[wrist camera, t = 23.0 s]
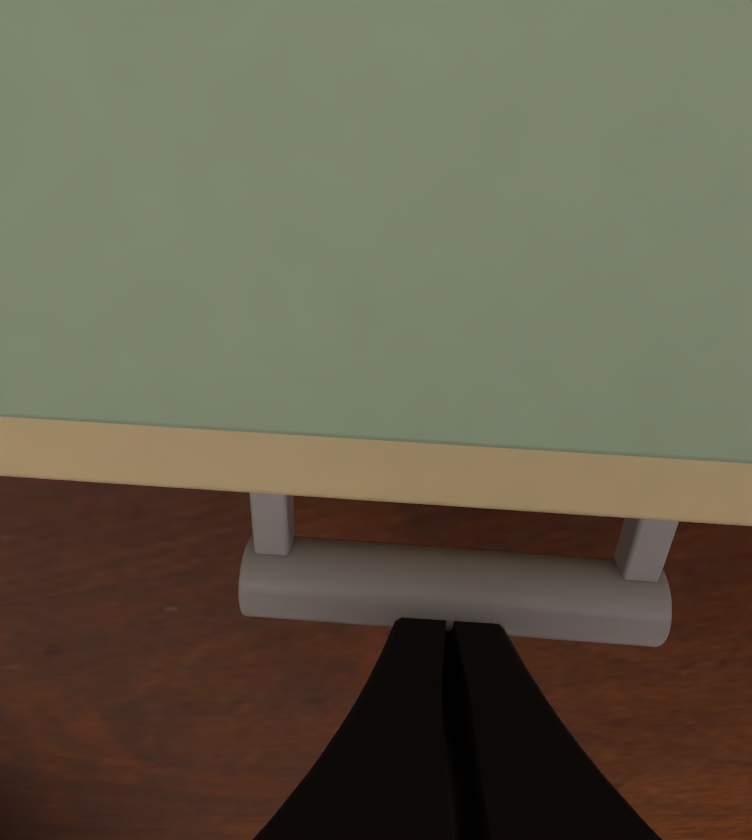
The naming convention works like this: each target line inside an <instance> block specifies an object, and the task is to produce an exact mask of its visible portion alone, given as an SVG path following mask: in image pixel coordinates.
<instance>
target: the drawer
mask: <svg viewBox="0 0 752 840" xmlns="http://www.w3.org/2000/svg"><path fill="white" fill-rule="evenodd" d="M0 476H11V477H26V478H41V479H56V480H71V481H86V482H101V483H116V484H131V485H146V486H160V487H175V488H190V489H205V490H220V491H235V492H249V493H250V505H251V518H252V530H253V535H251V536H250V538H249V540H248V542H247V544H246V547H245V550H244V553H243V557H242V562H241V568H240V575H239V589H238V595H239V606H240V610H241V613H242V614H243V615H245V616H254V617H267V618H280V619H293V620H306V621H319V622H333V623H346V624H359V625H372V626H385V627H393V625H394V622H395V621H396V620H398V619H400V618H401V617H404V618H419V619H434V620H446V630H445V631H451V630H452V628H453V623H454V621H463V622H478V623H494V624H500V625H501V626H502V627H503V628H504V629H505V631H506V633H507V635H508V636H517V637H530V638H544V639H557V640H570V641H583V642H596V643H609V644H623V645H636V646H649V647H658V646H660V645H662V644H663V643H664V642H665V641H666V639H667V637H668V634H669V631H670V627H671V620H672V600H671V593H670V588H669V584H668V580H667V578H666V575H665V573H664V571H663V567H664V564H665V561H666V558H667V555H668V552H669V549H670V546H671V543H672V540H673V537H674V534H675V531H676V528H677V525H678V523H679V521H682V522H697V523H712V524H727V525H742V526H752V464H750V463H734V462H718V461H702V460H686V459H670V458H654V457H638V456H622V455H606V454H590V453H574V452H559V451H543V450H527V449H511V448H495V447H479V446H463V445H447V444H431V443H415V442H399V441H383V440H368V439H352V438H336V437H320V436H304V435H288V434H272V433H256V432H240V431H224V430H208V429H192V428H177V427H161V426H145V425H129V424H113V423H97V422H81V421H65V420H49V419H33V418H17V417H1V416H0ZM293 495H295V496H309V497H324V498H339V499H354V500H369V501H384V502H399V503H414V504H429V505H444V506H459V507H473V508H488V509H503V510H518V511H533V512H548V513H563V514H578V515H593V516H608V517H622V518H624V521H623V525H622V528H621V532H620V535H619V539H618V542H617V546H616V549H615V553H614V559H613V558H598V557H584V556H570V555H555V554H541V553H527V552H512V551H498V550H484V549H470V548H455V547H441V546H427V545H412V544H398V543H384V542H370V541H355V540H341V539H327V538H312V537H298V536H294V535H295V523H294V497H293Z"/></svg>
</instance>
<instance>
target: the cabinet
mask: <svg viewBox="0 0 752 840" xmlns="http://www.w3.org/2000/svg"><path fill="white" fill-rule="evenodd" d="M0 416H1V417H17V418H33V419H49V420H65V421H81V422H97V423H113V424H129V425H145V426H161V427H177V428H192V429H208V430H224V431H240V432H256V433H272V434H288V435H304V436H320V437H336V438H352V439H368V440H383V441H399V442H415V443H431V444H447V445H463V446H479V447H495V448H511V449H527V450H543V451H559V452H574V453H590V454H606V455H622V456H638V457H654V458H670V459H686V460H702V461H718V462H734V463H750V464H752V0H0Z"/></svg>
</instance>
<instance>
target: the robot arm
mask: <svg viewBox="0 0 752 840" xmlns="http://www.w3.org/2000/svg"><path fill="white" fill-rule="evenodd" d="M445 630H446V620H434V619H419V618H404V617H401V618H400V619H398V620H396V621H395V622H394V625H393V627H392V630H391V632H390V634H389V637H388V639H387V642H386V644H385V646H384V649H383V651H382V653H381V655H380V657H379V659H378V661H377V663H376V665H375V667H374V669H373V671H372V673H371V675H370V677H369V679H368V681H367V682H366V684H365V686H364V688H363V690H362V692H361V693H360V695H359V697H358V699H357V700H356V702H355V704H354V705H353V707H352V709H351V710H350V712H349V714H348V715H347V717H346V718H345V720H344V722H343V723H342V725H341V726H340V728H339V729H338V731H337V732H336V734H335V735H334V737H333V738H332V740H331V741H330V743H329V744H328V746H327V747H326V749H325V750H324V752H323V753H322V754H321V756H320V757H319V759H318V760H317V761H316V763H315V764H314V766H313V767H312V768H311V770H310V771H309V772H308V774H307V775H306V776H305V778H304V779H303V780H302V781H301V783H300V784H299V785H298V786H297V788H296V789H295V790H294V791H293V792H292V794H291V795H290V796H289V797H288V799H287V800H286V801H285V802H284V804H283V805H282V806H281V807H280V809H279V810H278V811H277V812H276V814H275V815H274V816H273V817H272V818H271V820H270V821H269V822H268V823H267V824H266V825H265V827H264V828H263V829H262V830H261V831H260V832H259V833H258V834H257V835H256V836H255V838H254V839H253V840H662V839H661V838H660V837H659V836H658V835H657V834H656V833H655V832H654V831H653V830H652V829H651V828H650V827H649V826H648V825H647V824H646V823H645V821H644V820H643V819H642V818H641V817H640V816H639V815H638V814H637V812H636V811H635V810H634V809H633V808H632V807H631V806H630V805H629V804H628V802H627V801H626V800H625V799H624V798H623V797H622V796H621V795H620V793H619V792H618V791H617V790H616V789H615V788H614V787H613V786H612V784H611V783H610V782H609V781H608V780H607V779H606V778H605V777H604V775H603V774H602V773H601V772H600V770H599V769H598V768H597V767H596V765H595V764H594V763H593V762H592V760H591V759H590V758H589V757H588V755H587V754H586V753H585V752H584V751H583V749H582V748H581V747H580V745H579V744H578V743H577V741H576V740H575V739H574V737H573V736H572V735H571V733H570V732H569V731H568V729H567V728H566V727H565V725H564V724H563V723H562V721H561V720H560V718H559V717H558V716H557V714H556V713H555V711H554V710H553V708H552V707H551V705H550V704H549V703H548V701H547V700H546V698H545V696H544V695H543V693H542V692H541V690H540V689H539V687H538V686H537V684H536V683H535V681H534V680H533V678H532V676H531V675H530V673H529V671H528V670H527V668H526V666H525V665H524V663H523V661H522V660H521V658H520V656H519V654H518V653H517V651H516V649H515V647H514V646H513V644H512V642H511V640H510V639H509V637H508V635H507V633H506V631H505V629H504V628H503V627H502V626H501V625H500V624H494V623H478V622H463V621H454V623H453V628H452V630H451V631H445Z"/></svg>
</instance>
